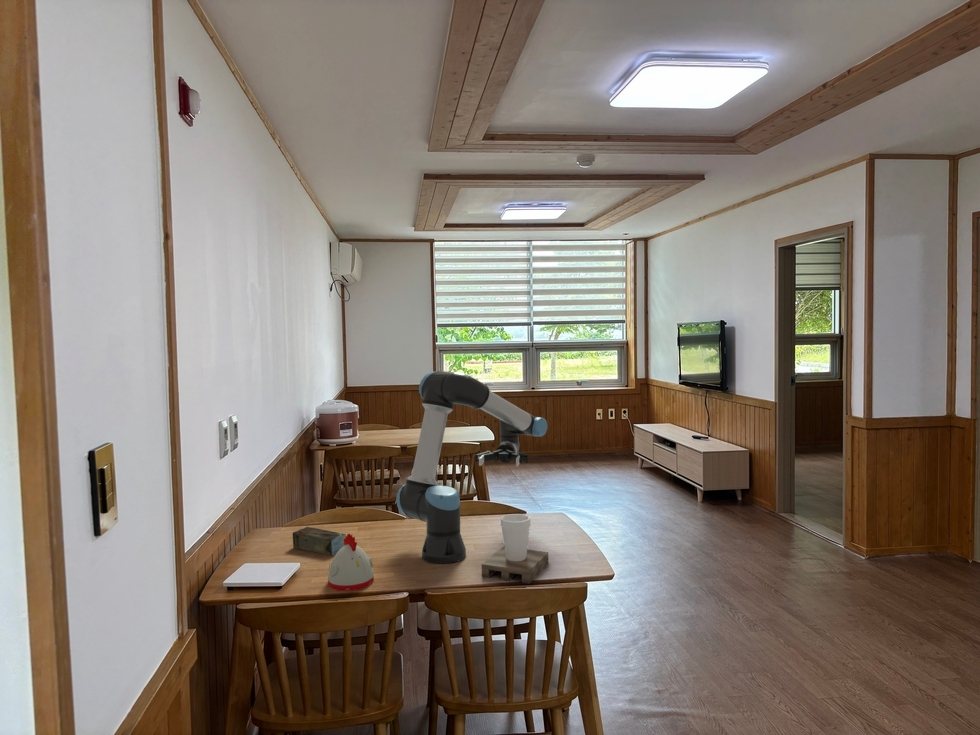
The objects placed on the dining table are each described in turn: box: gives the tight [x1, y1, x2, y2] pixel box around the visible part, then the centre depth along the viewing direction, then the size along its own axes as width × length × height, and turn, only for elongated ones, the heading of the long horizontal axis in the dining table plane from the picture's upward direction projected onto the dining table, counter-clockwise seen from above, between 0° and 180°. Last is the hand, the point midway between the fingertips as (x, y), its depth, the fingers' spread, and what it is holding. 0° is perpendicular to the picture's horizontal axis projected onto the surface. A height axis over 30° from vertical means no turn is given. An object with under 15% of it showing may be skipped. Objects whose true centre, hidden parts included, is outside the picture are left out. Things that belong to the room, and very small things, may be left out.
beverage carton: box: [292, 526, 347, 557], centre depth 227 cm, size 8×19×7 cm, turn 62°
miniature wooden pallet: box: [481, 546, 549, 585], centre depth 203 cm, size 18×16×4 cm
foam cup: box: [500, 513, 531, 561], centre depth 203 cm, size 10×9×13 cm
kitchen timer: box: [327, 533, 375, 592], centre depth 195 cm, size 14×14×15 cm
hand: (498, 462), depth 228 cm, fingers open, 13 cm apart
